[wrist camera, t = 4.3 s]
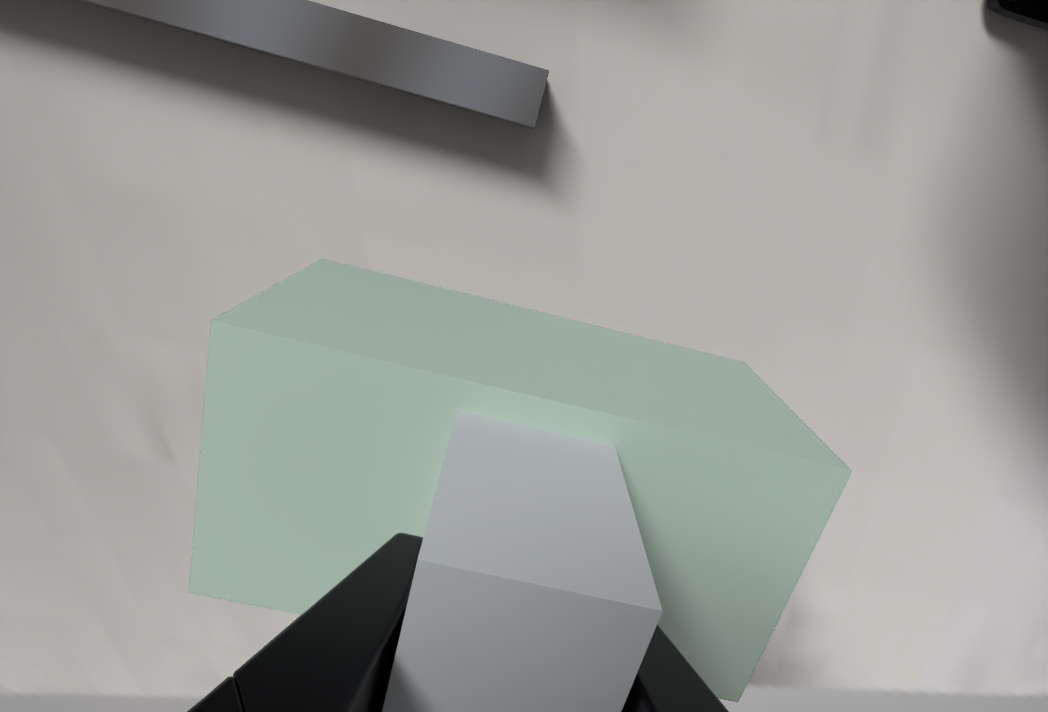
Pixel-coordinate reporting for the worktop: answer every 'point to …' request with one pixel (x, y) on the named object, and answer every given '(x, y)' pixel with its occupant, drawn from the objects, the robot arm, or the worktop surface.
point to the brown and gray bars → (359, 50)
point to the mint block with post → (503, 488)
